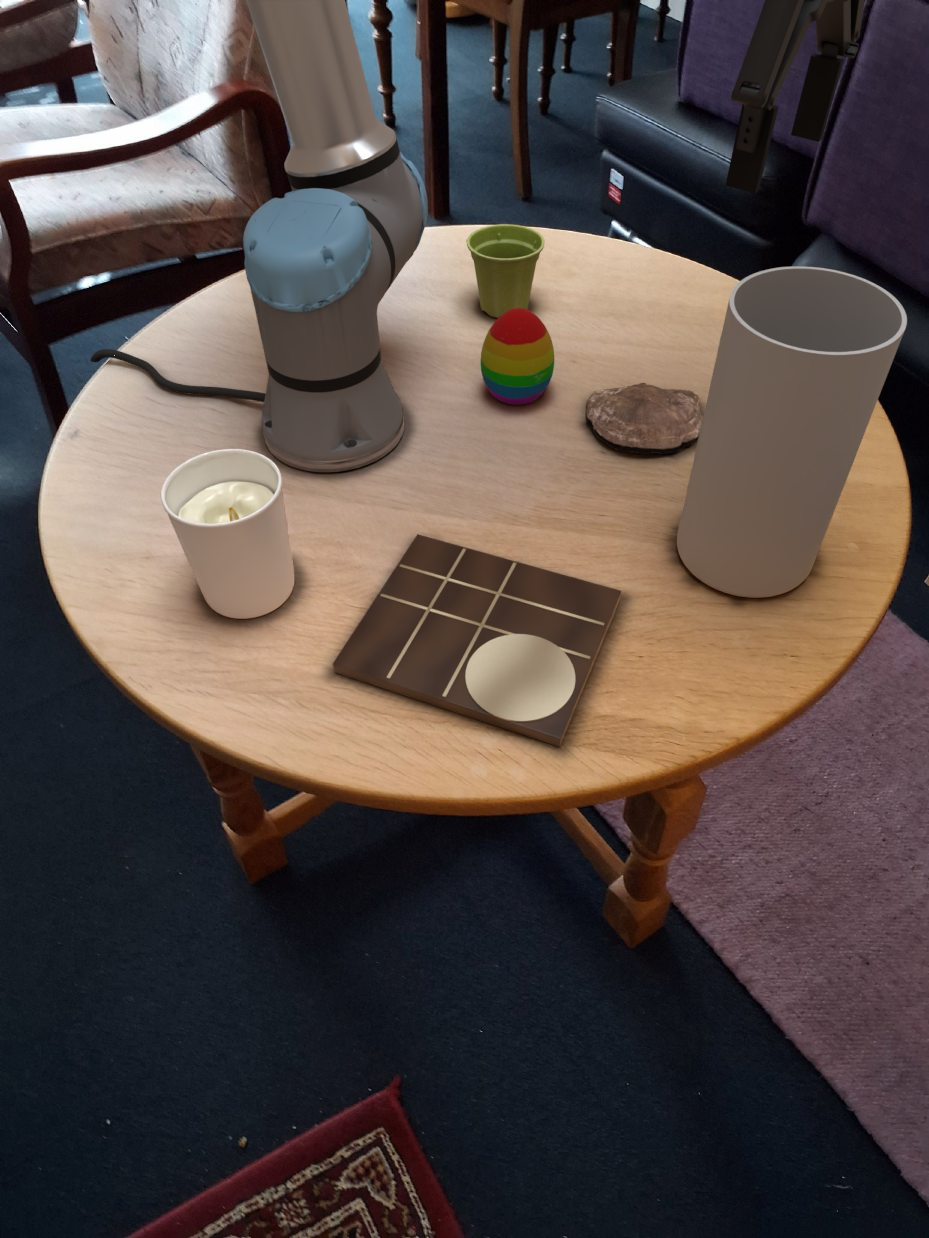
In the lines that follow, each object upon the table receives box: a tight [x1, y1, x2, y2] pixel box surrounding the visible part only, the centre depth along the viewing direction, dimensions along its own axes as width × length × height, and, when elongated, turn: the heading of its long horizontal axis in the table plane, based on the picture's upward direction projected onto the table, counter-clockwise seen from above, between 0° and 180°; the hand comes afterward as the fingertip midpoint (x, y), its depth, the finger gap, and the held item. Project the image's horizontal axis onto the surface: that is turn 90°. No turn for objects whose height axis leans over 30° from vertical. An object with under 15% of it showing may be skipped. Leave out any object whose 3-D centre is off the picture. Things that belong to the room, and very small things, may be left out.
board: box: [332, 534, 622, 748], centre depth 77 cm, size 20×17×1 cm
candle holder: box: [160, 448, 296, 620], centre depth 78 cm, size 10×10×12 cm
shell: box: [585, 382, 703, 455], centre depth 96 cm, size 12×13×4 cm
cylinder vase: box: [676, 265, 908, 599], centre depth 75 cm, size 12×12×25 cm
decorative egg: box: [480, 308, 555, 406], centre depth 98 cm, size 8×8×10 cm
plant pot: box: [466, 223, 545, 319], centre depth 111 cm, size 9×9×9 cm
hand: (775, 162), depth 79 cm, fingers open, 13 cm apart
